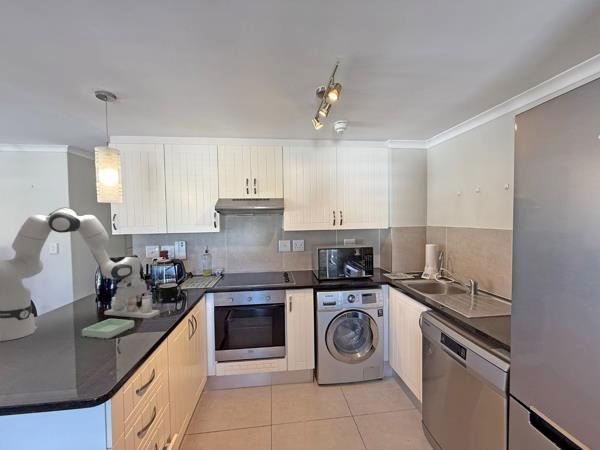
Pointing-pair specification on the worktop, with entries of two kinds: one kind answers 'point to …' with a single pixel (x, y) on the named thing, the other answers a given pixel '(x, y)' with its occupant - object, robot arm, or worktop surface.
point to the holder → (132, 314)
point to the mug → (168, 293)
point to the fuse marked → (132, 303)
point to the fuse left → (118, 304)
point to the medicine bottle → (114, 300)
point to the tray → (108, 328)
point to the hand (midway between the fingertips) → (132, 303)
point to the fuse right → (145, 303)
